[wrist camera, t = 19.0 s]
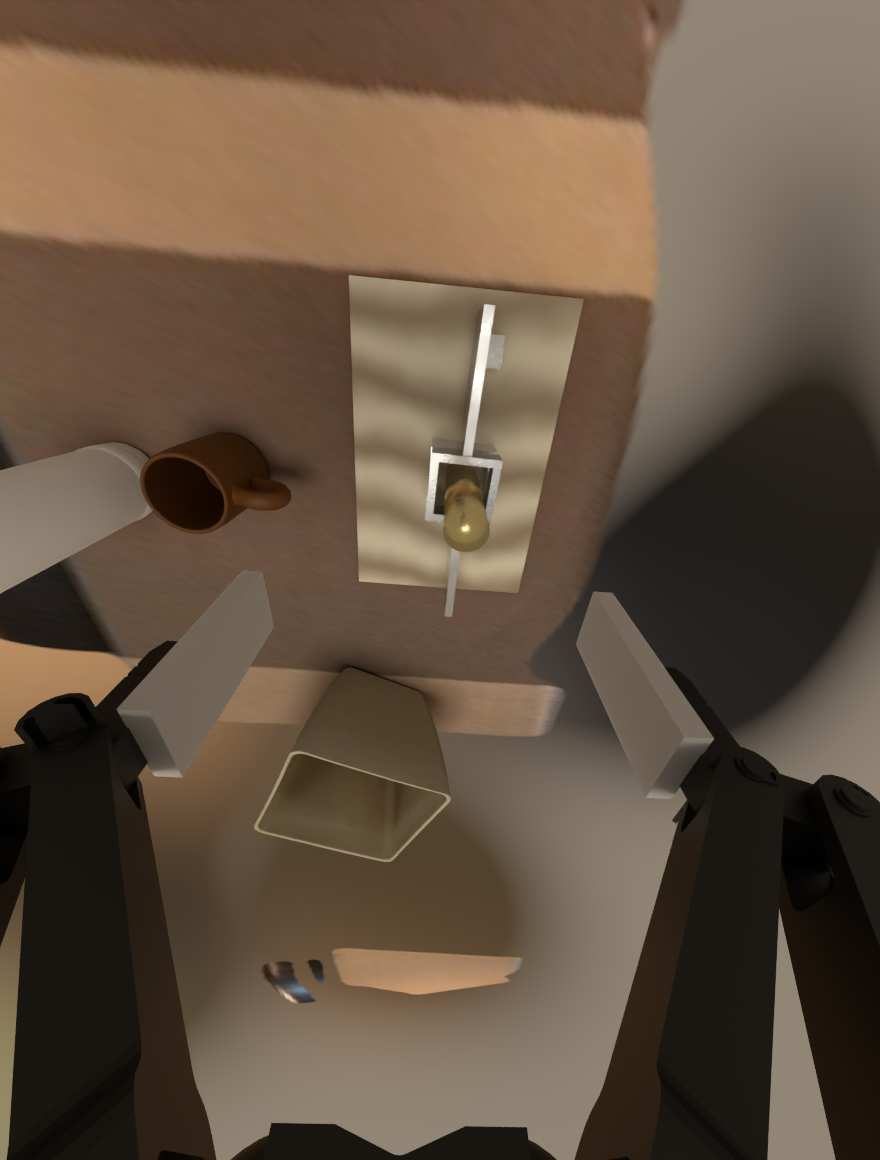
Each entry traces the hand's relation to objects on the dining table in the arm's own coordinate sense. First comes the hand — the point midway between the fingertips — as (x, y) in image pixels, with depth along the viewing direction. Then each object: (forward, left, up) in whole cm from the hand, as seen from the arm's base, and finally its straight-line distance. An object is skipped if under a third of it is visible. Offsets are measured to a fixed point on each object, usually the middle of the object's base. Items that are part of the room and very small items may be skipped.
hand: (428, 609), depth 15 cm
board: (+1, +1, -28) cm, 28 cm away
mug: (+3, -20, -29) cm, 35 cm away
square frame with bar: (-4, +3, -27) cm, 28 cm away
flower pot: (+39, -8, -29) cm, 49 cm away
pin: (+1, +3, -27) cm, 28 cm away
